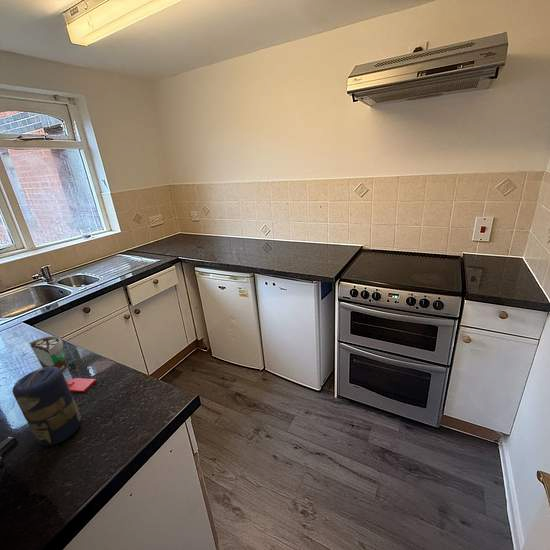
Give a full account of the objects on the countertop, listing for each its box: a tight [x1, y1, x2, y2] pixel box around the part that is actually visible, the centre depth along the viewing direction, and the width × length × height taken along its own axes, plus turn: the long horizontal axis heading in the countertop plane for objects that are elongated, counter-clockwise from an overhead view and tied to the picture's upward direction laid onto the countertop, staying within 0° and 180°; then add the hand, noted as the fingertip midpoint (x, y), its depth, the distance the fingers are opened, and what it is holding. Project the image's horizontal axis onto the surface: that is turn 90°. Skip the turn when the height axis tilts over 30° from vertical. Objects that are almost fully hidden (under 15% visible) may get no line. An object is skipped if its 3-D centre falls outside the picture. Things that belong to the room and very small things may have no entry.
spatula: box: [66, 377, 97, 393], centre depth 92 cm, size 20×5×1 cm, turn 80°
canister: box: [12, 367, 82, 446], centre depth 72 cm, size 10×10×18 cm
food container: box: [29, 336, 68, 373], centre depth 100 cm, size 12×6×10 cm, turn 63°
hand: (14, 440), depth 64 cm, fingers closed
